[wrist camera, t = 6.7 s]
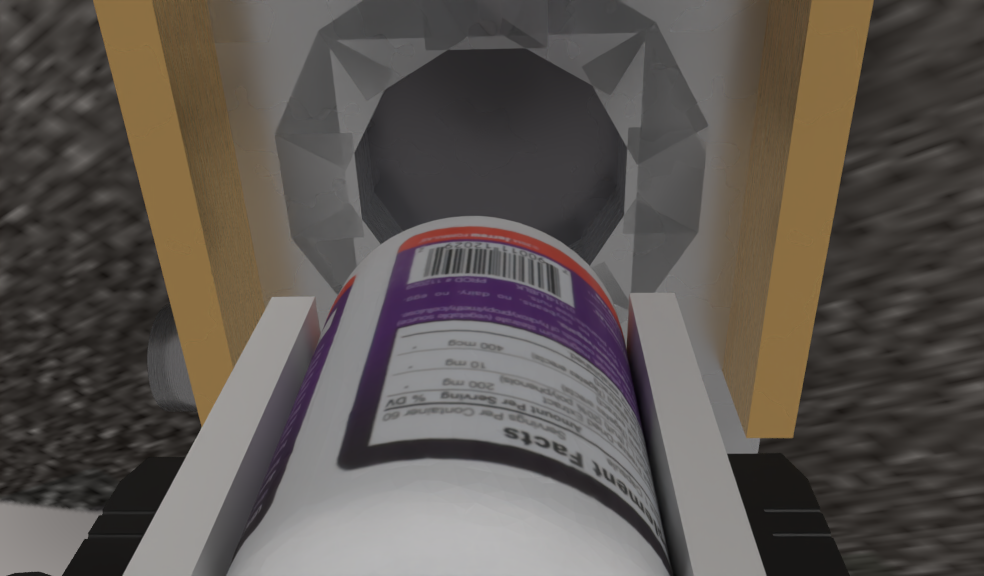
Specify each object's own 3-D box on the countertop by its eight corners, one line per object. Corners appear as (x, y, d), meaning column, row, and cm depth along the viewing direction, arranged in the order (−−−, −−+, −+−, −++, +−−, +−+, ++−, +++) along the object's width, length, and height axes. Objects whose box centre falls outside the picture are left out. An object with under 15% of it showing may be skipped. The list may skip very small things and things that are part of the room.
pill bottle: (457, 493, 17) (393, 1137, 9) (272, 317, 15) (-43, 924, 7) (680, 362, 16) (868, 1011, 7) (502, 145, 14) (464, 675, 5)
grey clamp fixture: (95, -111, 23) (-90, -83, 16) (786, -134, 22) (905, -115, 15) (228, 447, 33) (148, 615, 26) (713, 446, 32) (765, 620, 25)
